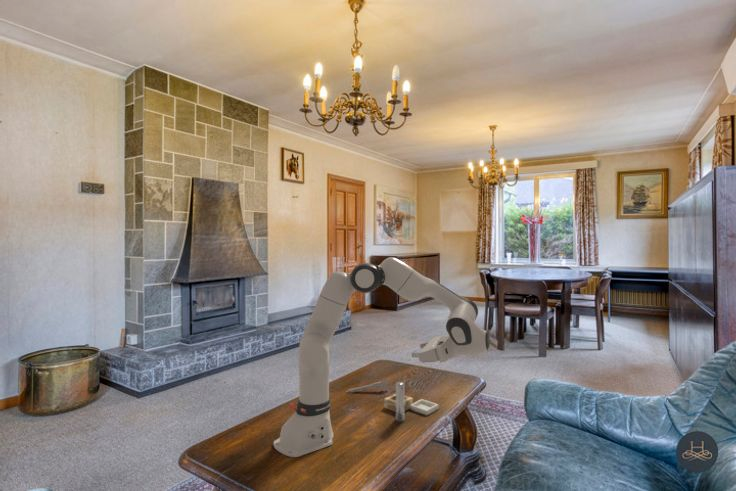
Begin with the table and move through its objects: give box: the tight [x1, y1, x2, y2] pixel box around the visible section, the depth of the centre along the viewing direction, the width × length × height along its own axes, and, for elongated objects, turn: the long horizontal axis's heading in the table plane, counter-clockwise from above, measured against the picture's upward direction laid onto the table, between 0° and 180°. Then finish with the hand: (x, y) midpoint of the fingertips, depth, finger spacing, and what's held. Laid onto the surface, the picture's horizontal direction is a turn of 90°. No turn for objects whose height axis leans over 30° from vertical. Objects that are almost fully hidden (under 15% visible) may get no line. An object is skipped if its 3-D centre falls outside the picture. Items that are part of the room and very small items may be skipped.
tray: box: [409, 398, 440, 417], centre depth 172 cm, size 9×9×2 cm
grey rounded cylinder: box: [395, 381, 406, 423], centre depth 162 cm, size 4×4×15 cm
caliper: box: [345, 378, 389, 394], centre depth 192 cm, size 20×1×6 cm, turn 95°
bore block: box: [383, 393, 414, 413], centre depth 174 cm, size 9×9×4 cm
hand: (416, 350), depth 159 cm, fingers open, 8 cm apart
